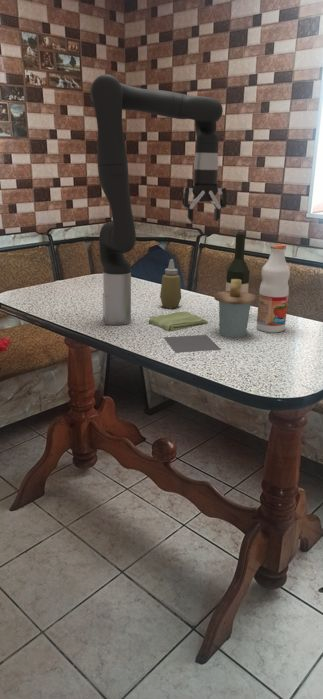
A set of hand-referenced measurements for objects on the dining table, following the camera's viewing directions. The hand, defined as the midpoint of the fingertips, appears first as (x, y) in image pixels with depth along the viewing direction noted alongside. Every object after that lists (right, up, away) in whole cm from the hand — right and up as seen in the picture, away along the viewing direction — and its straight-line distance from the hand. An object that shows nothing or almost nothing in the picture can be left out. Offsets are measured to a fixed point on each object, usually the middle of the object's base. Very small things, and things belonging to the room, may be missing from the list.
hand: (203, 220), depth 172 cm
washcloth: (-8, -34, +8) cm, 36 cm away
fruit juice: (+23, -35, +5) cm, 42 cm away
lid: (+9, -26, -7) cm, 28 cm away
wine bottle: (+13, -30, +19) cm, 38 cm away
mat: (-5, -41, -13) cm, 43 cm away
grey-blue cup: (+9, -38, -2) cm, 39 cm away
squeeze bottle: (-10, -26, +29) cm, 40 cm away
